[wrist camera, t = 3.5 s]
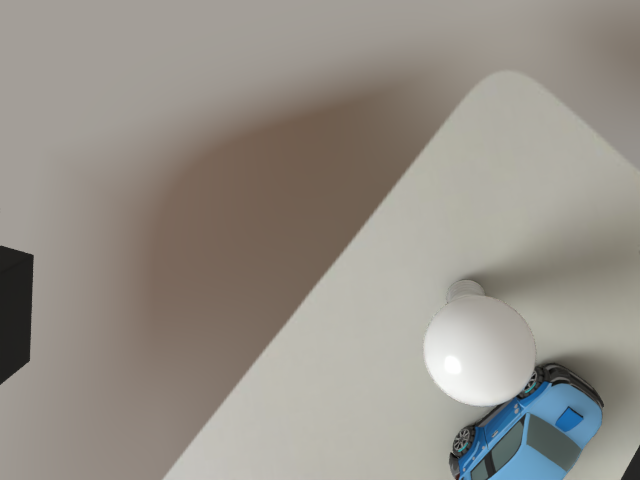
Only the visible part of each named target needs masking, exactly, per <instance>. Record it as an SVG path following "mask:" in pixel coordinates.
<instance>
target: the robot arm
mask: <svg viewBox="0 0 640 480" xmlns="http://www.w3.org/2000/svg"><path fill="white" fill-rule="evenodd" d="M33 258H34V256H33V255H32V254H28V253H25V252H22V251H18V250H14V249H11V248H8V247H4V246H0V385H1V384H2V383H3V382H4V381H5V380H7V379H8V378H9V377H10V376H12V375H13V374H14V373H15V372H17V371H18V370H19V369H20V368H21V367H23V366H24V365H25V364H26V363H28V362H29V361H30V340H31V338H30V337H31V313H32V312H31V311H32V283H33ZM621 480H640V446H639V448H638V449H637V451H636V453H635V455H634V457H633V458H632V460H631V462H630V464H629V466H628V467H627V469H626V471H625V473H624V475H623V476H622V478H621Z"/></svg>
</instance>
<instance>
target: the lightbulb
mask: <svg viewBox="0 0 640 480" xmlns="http://www.w3.org/2000/svg"><path fill="white" fill-rule="evenodd" d="M446 300H447V304H446V305H445V306H443V307H442V308H441V309H440V310H439V311H438V312H437V313H436V314H435V315H434V316H433V318H432V319H431V321H430V322H429V324H428V326H427V329H426V332H425V335H424V340H423V355H424V361H425V364H426V367H427V370H428V372H429V374H430V376H431V378H432V379H433V381H434V382H435V384H436V385H437V386H438V387H439V388H440V389H441V390H442V391H443V392H444V393H445V394H447V395H448V396H449V397H451V398H453V399H454V400H456V401H458V402H461V403H464V404H467V405H471V406H477V407H488V406H495V405H499V404H502V403H504V402H507V401H509V400H510V399H512V398H514V397H515V396H516V395H518V394H519V393H520V392H521V391H522V390H523V389H524V388H525V387H526V385H527V384H528V382H529V381H530V379H531V377H532V374H533V372H534V369H535V364H536V355H537V352H536V344H535V339H534V336H533V333H532V331H531V329H530V327H529V325H528V324H527V322H526V321H525V319H524V318H523V317H522V316H521V315H520V313H519V312H517V311H516V310H515V309H514V308H513V307H511V306H510V305H508V304H507V303H505V302H503V301H501V300H498V299H496V298H492V297H488V296H486V295H485V292H484V290H483V288H482V287H481V286H480V285H479V284H478V283H476V282H474V281H471V280H461V281H458V282H456V283H454V284H453V285H452V286H451V287H450V288H449V289H448V291H447V295H446Z"/></svg>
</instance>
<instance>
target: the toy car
mask: <svg viewBox="0 0 640 480" xmlns="http://www.w3.org/2000/svg"><path fill="white" fill-rule="evenodd" d="M542 367H543V370H544V371H543V370H542V369H540V368H538V367H537V368H536V367H535V369H534V372H533V374H532V377H531V379H530V381H529V382H528V384H527V385H526V387H525V388H524V389H523V390H522V391H521V392H520V393H519V394H518V395H516V396H515V397H514V398H512V399H510V400H509V401H507V402H504V403H502V404H499V405H498V406H497V407H496V408H494V409H493V410H492V411H491V412H490V413H489V414H488V415H486V416H485V417H484V418H483V419H482V420H481V421H479V422H478V423H477V424H476V425H475V429H474V428H473V427H471V426H468V427H465V428H463V429H462V430H461V431H460V432H459V433H458V435H457V436H456V438H455V440H454V443H453V453H454V454H455V455H456V456H455V455H454V454H453V453H450V459H449V464H450V468H451V472H452V475H453V477H454V478H455V479H456V480H562V479H563V478H564V477H565V475H566V474H567V473H568V472H569V471H570V469H571V468H572V467H573V466H574V464H575V463H576V461H577V460H578V458H579V456H580V454H581V452H582V450H583V448H584V447H585V445H586V444H587V443H588V442H589V440H590V439H591V438H592V437H593V436H594V435H595V434H596V432H597V431H598V429H599V428H600V426H601V424H602V407H604V404H603V402H602V400H601V398H600V396H599V395H598V393H597V392H596V391H595V390H594V389H593V388H592V387H591V386H590V385H589V384H588V383H587V382H585V381H584V380H583V379H581V378H580V377H579V376H577V375H576V374H575V373H573V372H572V371H570V370H568V369H567V368H565V367H563V366H561V365H558V364H555V363H550V364H547V365H545V366H542ZM458 457H459V458H458Z"/></svg>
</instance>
